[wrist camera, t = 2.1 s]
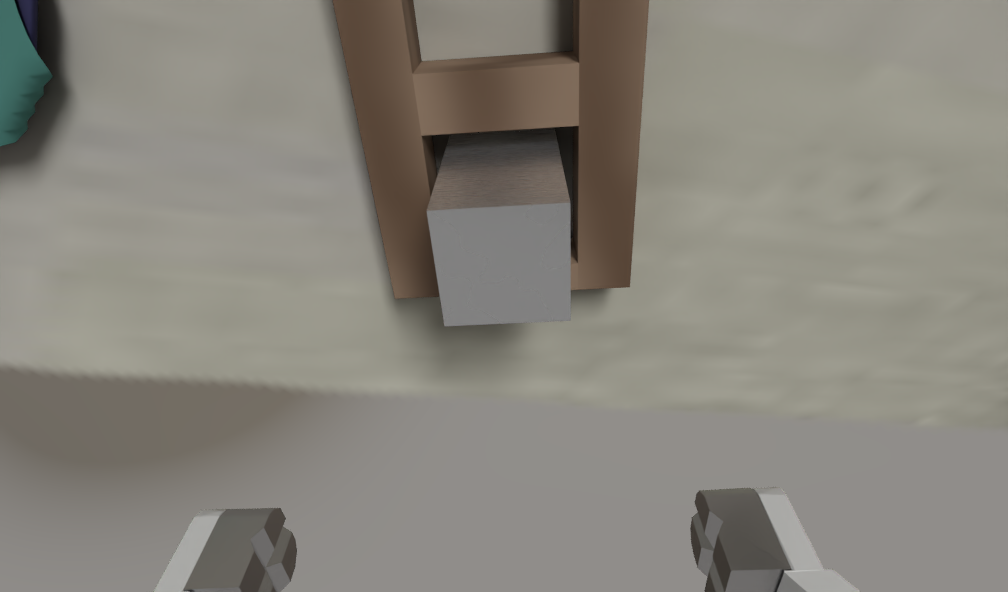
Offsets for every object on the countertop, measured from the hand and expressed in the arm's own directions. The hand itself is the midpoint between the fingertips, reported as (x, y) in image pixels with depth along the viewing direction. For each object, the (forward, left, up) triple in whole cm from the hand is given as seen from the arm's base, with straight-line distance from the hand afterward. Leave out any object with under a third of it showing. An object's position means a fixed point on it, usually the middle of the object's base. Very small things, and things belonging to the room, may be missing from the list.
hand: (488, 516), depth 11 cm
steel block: (0, 0, -18) cm, 18 cm away
